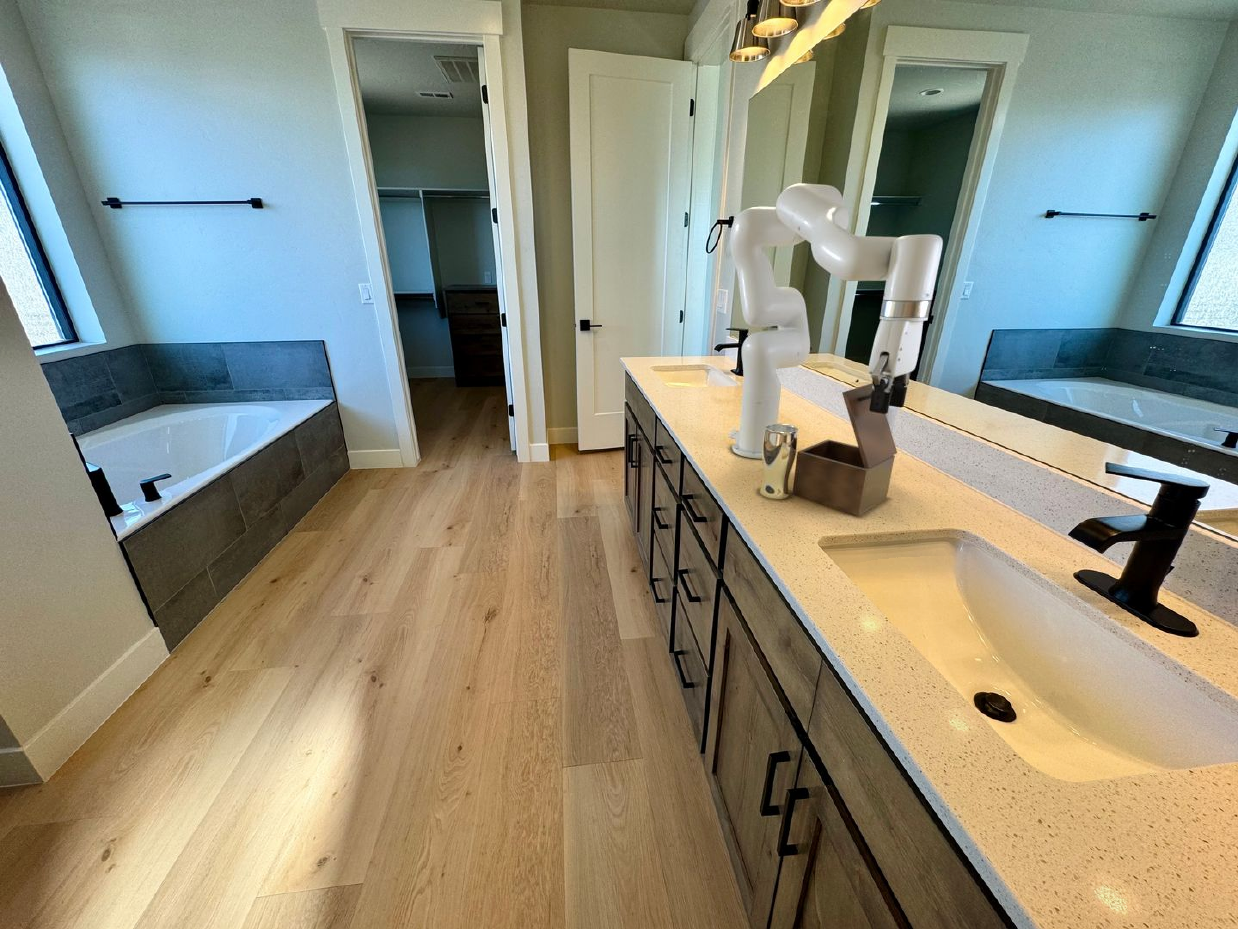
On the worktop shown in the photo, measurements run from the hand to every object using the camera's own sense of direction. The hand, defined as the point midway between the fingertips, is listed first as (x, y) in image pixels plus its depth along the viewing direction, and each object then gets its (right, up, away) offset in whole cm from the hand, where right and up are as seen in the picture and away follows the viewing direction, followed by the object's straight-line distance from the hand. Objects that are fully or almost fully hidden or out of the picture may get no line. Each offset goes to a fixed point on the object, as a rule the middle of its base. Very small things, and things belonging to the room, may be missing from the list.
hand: (886, 408), depth 94 cm
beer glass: (-17, -17, +14) cm, 28 cm away
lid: (-2, -3, +3) cm, 5 cm away
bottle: (+9, -13, +24) cm, 29 cm away
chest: (-4, -18, +12) cm, 22 cm away
